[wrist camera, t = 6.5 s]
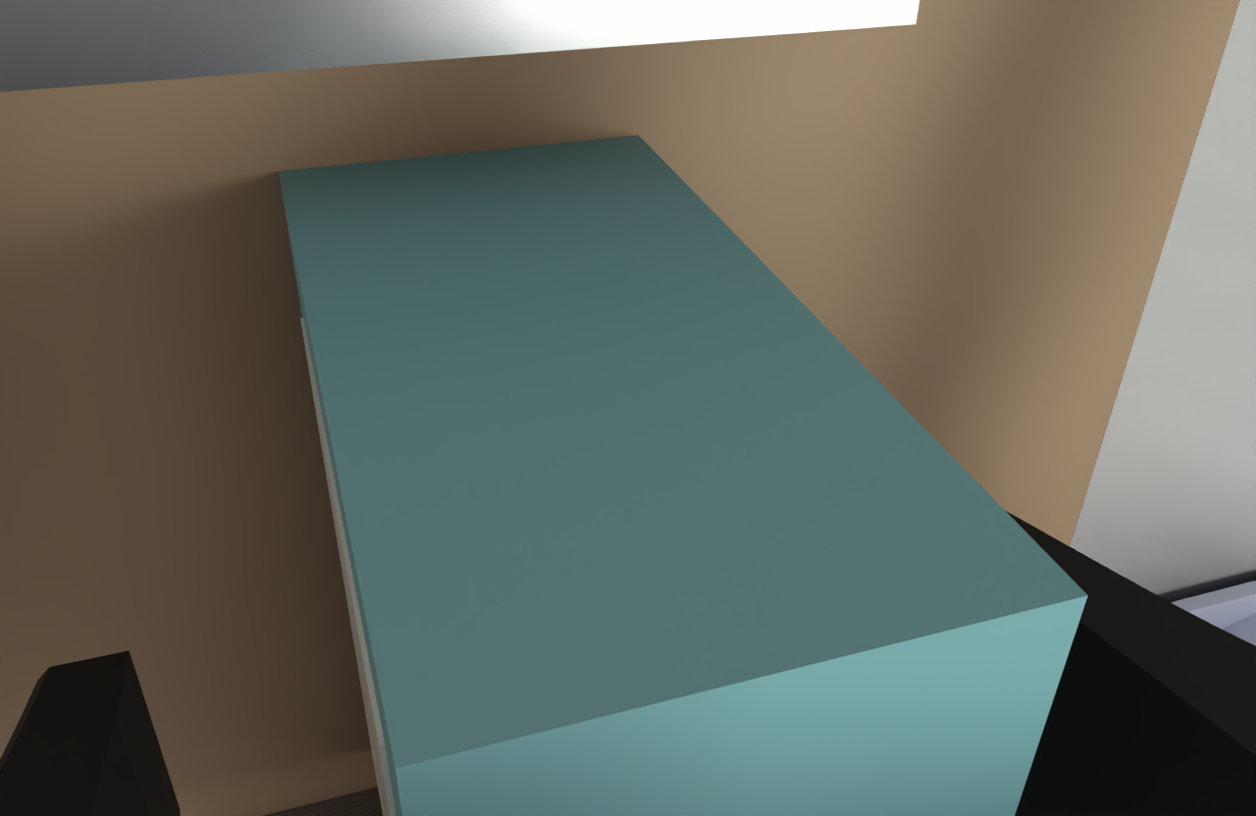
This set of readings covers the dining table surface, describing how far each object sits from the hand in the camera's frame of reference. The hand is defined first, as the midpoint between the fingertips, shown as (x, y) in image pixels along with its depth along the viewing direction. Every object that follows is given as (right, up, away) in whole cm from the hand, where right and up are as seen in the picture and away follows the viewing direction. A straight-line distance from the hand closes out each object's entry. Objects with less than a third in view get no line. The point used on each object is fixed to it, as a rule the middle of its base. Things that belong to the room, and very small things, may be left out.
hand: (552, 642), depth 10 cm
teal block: (-1, +1, +2) cm, 3 cm away
